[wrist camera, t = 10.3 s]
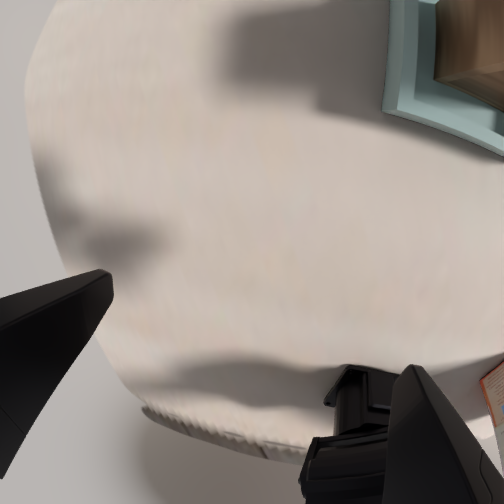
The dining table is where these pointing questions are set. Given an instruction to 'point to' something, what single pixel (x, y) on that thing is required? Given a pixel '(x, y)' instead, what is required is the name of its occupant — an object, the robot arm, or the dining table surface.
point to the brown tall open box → (471, 48)
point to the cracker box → (496, 404)
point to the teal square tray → (431, 81)
